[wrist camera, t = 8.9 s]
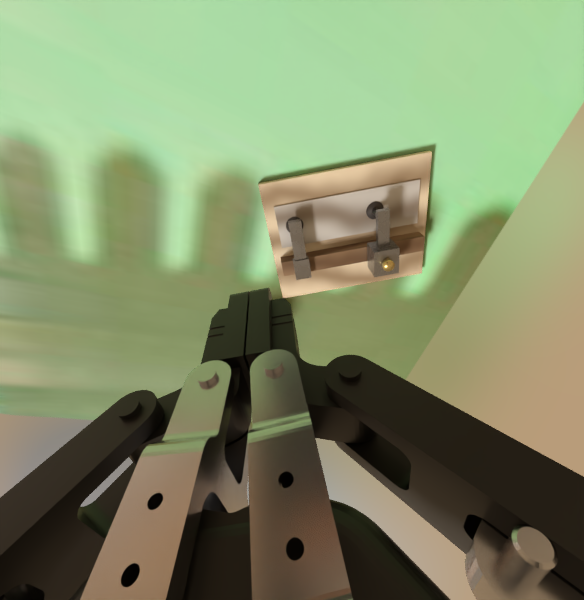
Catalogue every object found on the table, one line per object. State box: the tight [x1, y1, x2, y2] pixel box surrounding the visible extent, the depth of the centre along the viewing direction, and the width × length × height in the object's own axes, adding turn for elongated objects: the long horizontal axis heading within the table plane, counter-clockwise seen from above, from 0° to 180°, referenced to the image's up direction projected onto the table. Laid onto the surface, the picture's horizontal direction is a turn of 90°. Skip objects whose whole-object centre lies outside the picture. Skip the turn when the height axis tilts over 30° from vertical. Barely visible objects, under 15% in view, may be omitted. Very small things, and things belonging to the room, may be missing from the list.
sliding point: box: [367, 208, 400, 277], centre depth 43 cm, size 9×4×6 cm, turn 9°
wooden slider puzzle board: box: [258, 151, 432, 298], centre depth 46 cm, size 19×24×3 cm
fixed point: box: [288, 219, 312, 280], centre depth 45 cm, size 9×2×3 cm, turn 9°
